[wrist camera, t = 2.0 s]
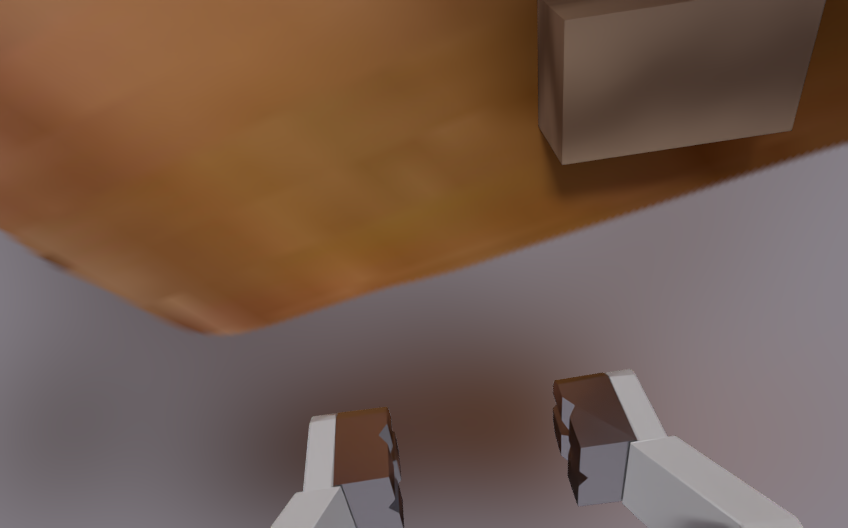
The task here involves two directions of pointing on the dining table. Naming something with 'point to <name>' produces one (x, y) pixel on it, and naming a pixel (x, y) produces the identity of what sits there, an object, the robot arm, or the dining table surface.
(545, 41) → the walnut block
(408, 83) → the dining table surface
